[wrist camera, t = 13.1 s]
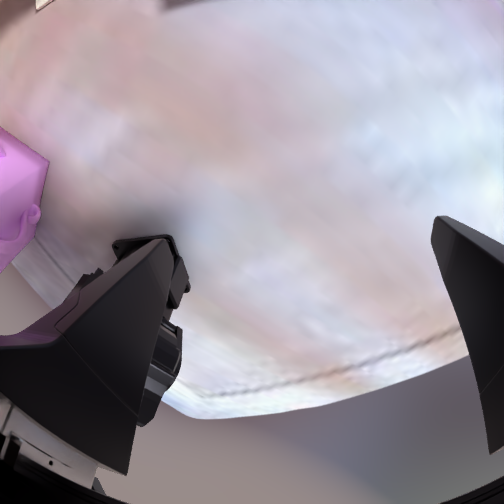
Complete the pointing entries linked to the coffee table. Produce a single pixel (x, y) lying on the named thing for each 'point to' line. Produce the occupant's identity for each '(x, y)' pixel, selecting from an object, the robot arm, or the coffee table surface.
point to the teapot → (18, 195)
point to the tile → (42, 3)
